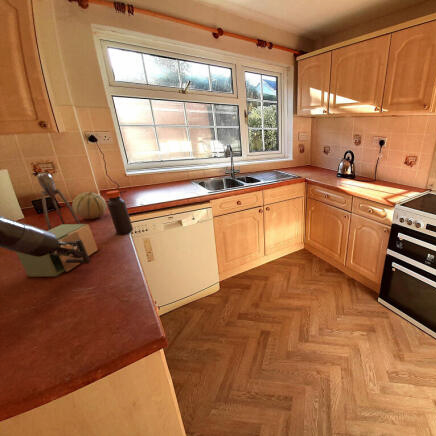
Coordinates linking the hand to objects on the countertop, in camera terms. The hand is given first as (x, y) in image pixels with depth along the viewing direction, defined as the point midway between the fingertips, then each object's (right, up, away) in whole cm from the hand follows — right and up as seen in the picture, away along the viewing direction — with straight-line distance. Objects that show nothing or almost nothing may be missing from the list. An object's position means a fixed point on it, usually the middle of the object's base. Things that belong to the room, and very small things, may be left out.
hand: (80, 255), depth 84 cm
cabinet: (-14, -4, +9) cm, 17 cm away
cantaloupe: (-38, +13, +53) cm, 67 cm away
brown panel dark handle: (-3, -4, +7) cm, 9 cm away
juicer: (-34, +5, +33) cm, 48 cm away
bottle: (-8, +6, +34) cm, 36 cm away
